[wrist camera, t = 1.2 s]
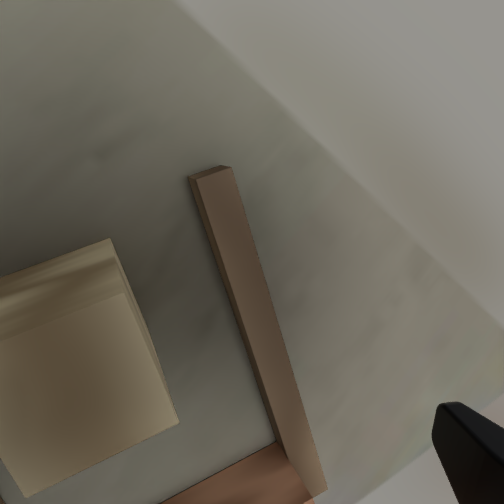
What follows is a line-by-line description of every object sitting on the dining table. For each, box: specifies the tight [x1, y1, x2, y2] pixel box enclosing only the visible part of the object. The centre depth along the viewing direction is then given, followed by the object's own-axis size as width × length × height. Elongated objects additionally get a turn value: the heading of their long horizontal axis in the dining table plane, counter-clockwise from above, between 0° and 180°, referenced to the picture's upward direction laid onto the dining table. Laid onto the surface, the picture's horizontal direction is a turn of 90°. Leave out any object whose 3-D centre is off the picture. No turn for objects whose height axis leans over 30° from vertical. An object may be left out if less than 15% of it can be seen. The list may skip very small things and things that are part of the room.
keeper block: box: [0, 238, 179, 498], centre depth 15 cm, size 4×4×7 cm
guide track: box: [0, 165, 328, 504], centre depth 18 cm, size 15×18×4 cm
